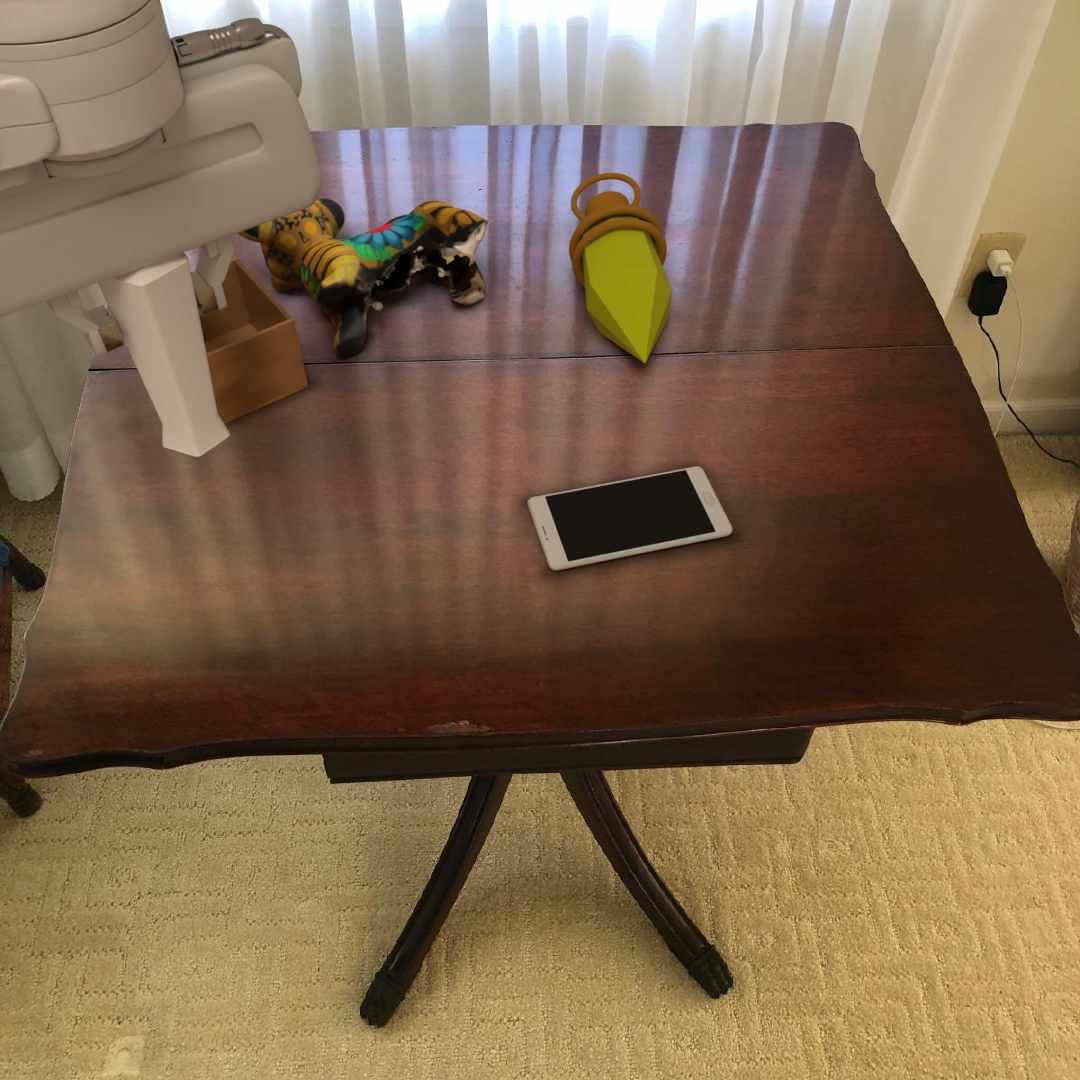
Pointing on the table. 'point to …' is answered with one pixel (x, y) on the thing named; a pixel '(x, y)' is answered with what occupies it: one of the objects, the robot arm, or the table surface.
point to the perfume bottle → (168, 350)
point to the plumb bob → (621, 267)
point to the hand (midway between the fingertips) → (158, 326)
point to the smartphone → (627, 517)
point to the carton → (250, 347)
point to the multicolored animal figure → (371, 260)
